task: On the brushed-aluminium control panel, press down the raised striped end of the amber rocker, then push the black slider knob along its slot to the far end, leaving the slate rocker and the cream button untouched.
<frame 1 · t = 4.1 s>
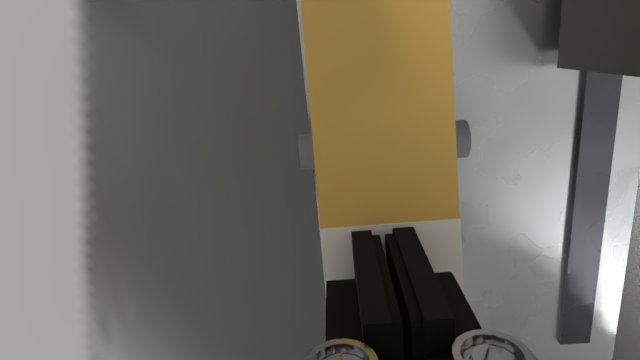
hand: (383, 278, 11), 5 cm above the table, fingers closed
amber rocker: (381, 145, 11), point 4 cm above the table, hinge at 10.1°, touching gripper
panel: (456, 268, 16), on the table
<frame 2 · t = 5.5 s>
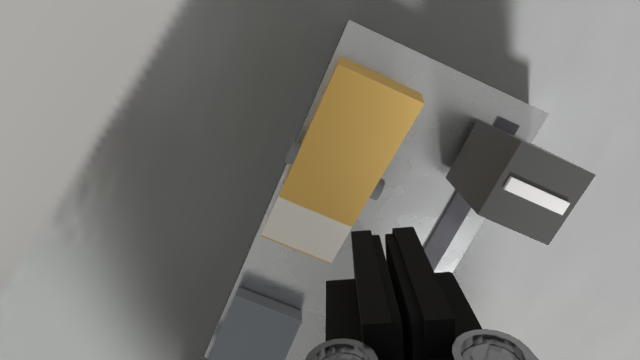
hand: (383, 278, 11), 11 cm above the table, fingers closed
amber rocker: (334, 170, 19), point 4 cm above the table, hinge at -13.6°, touching panel
panel: (338, 265, 24), on the table
slider knob: (510, 177, 17), point 5 cm above the table, slide at 0.0 cm
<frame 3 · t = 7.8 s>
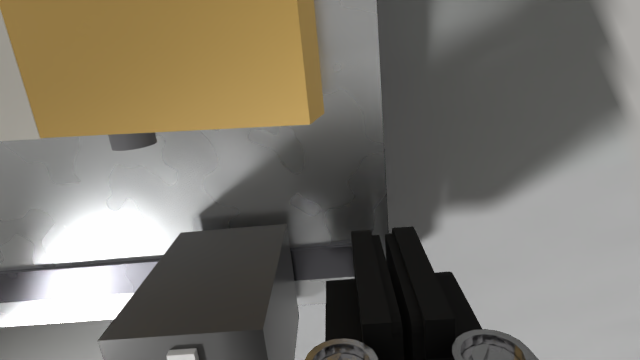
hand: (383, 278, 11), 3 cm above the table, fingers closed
amber rocker: (111, 47, 9), point 4 cm above the table, hinge at -12.8°
panel: (10, 159, 14), on the table
slider knob: (222, 327, 10), point 5 cm above the table, slide at 1.4 cm, touching gripper
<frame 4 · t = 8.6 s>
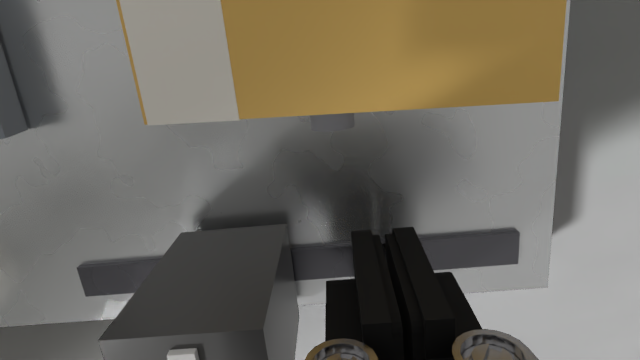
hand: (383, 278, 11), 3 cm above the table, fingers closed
amber rocker: (323, 25, 9), point 4 cm above the table, hinge at -12.8°
panel: (149, 146, 14), on the table
slider knob: (223, 326, 10), point 5 cm above the table, slide at 6.0 cm, touching gripper
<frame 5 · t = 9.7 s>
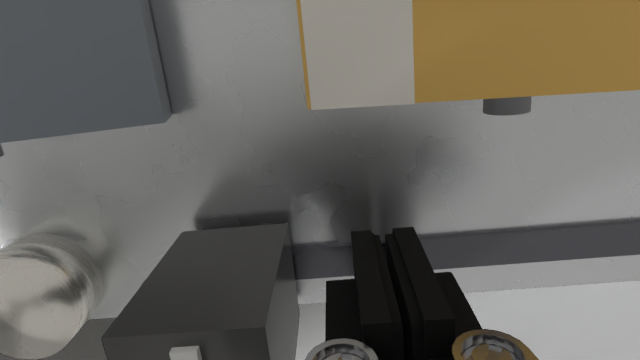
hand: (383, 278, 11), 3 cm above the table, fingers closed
amber rocker: (510, 7, 9), point 4 cm above the table, hinge at -12.8°
panel: (270, 135, 14), on the table
slider knob: (224, 325, 10), point 5 cm above the table, slide at 9.9 cm, touching gripper
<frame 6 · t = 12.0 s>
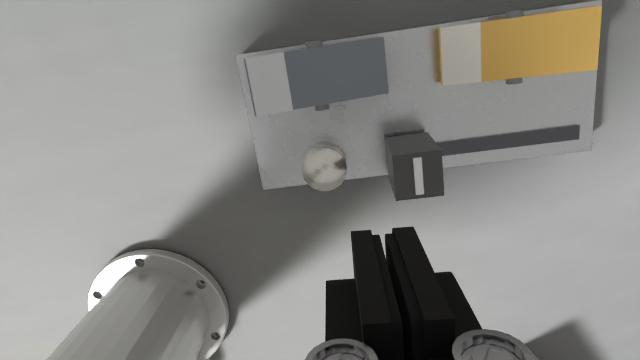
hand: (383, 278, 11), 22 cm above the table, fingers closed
amber rocker: (514, 47, 27), point 4 cm above the table, hinge at -12.8°
panel: (412, 99, 32), on the table
slider knob: (412, 165, 28), point 5 cm above the table, slide at 10.0 cm
slate rocker: (317, 76, 28), point 4 cm above the table, hinge at 12.0°
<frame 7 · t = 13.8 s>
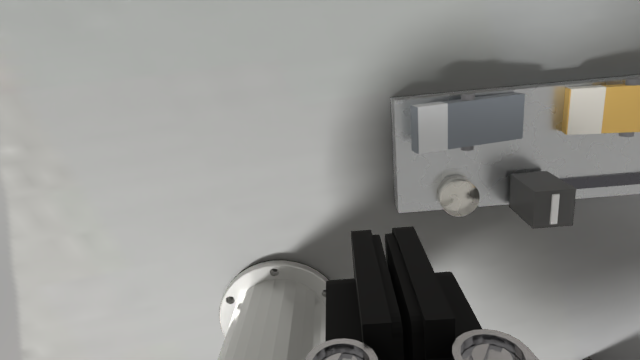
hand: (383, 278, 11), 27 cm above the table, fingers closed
amber rocker: (629, 107, 33), point 4 cm above the table, hinge at -12.8°
panel: (528, 141, 38), on the table
slider knob: (540, 198, 34), point 5 cm above the table, slide at 10.0 cm
slate rocker: (467, 122, 34), point 4 cm above the table, hinge at 12.0°
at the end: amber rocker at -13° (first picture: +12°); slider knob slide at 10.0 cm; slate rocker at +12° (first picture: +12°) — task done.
